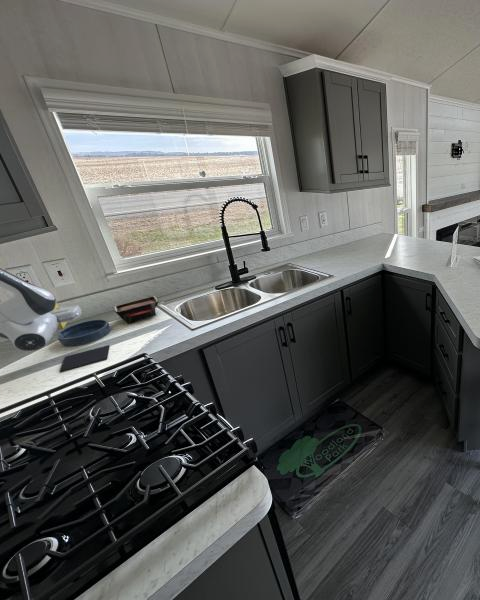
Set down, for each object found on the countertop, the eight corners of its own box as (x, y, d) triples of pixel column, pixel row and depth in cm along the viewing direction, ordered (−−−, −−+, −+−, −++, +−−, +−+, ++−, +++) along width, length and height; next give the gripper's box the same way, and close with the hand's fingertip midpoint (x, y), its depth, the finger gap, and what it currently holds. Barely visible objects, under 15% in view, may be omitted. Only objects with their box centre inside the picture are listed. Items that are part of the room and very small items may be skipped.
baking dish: (123, 318, 166) (112, 302, 161) (163, 304, 175) (153, 288, 169) (125, 331, 156) (112, 315, 151) (166, 315, 165) (156, 299, 159)
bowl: (74, 350, 137) (69, 342, 135) (53, 342, 144) (48, 334, 142) (119, 330, 151) (116, 323, 149) (98, 324, 158) (95, 316, 156)
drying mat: (59, 372, 123) (59, 371, 123) (65, 357, 132) (65, 356, 132) (107, 359, 130) (106, 358, 130) (109, 346, 139) (109, 344, 139)
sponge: (48, 332, 131) (33, 305, 126) (52, 325, 136) (38, 299, 131) (63, 328, 133) (49, 302, 128) (67, 322, 139) (53, 296, 134)
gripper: (74, 309, 126) (80, 297, 136) (-2, 325, 116) (10, 311, 126) (81, 323, 129) (87, 310, 139) (7, 340, 118) (19, 325, 129)
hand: (50, 311), depth 133 cm, fingers closed on sponge, 4 cm apart
